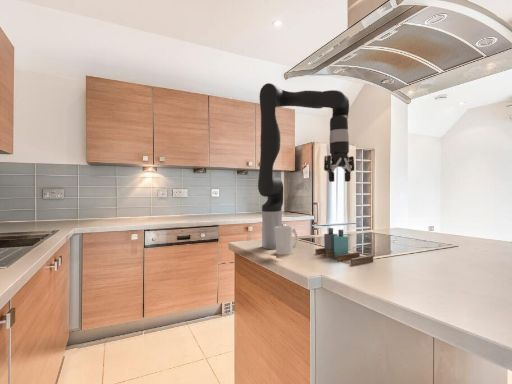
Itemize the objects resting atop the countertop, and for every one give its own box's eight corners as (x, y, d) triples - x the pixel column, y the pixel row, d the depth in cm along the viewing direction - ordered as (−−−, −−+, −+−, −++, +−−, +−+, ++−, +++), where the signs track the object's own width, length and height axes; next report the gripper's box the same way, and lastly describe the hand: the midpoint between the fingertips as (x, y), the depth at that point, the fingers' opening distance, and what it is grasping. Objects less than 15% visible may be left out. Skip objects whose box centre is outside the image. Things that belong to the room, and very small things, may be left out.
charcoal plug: (324, 253, 113) (324, 228, 113) (331, 252, 115) (331, 227, 114) (330, 255, 110) (330, 229, 110) (337, 254, 111) (337, 228, 111)
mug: (281, 258, 111) (280, 228, 111) (272, 255, 117) (272, 226, 117) (302, 255, 116) (301, 226, 116) (293, 252, 122) (292, 224, 122)
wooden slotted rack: (315, 257, 113) (315, 249, 113) (334, 253, 118) (334, 246, 118) (352, 268, 96) (352, 259, 96) (373, 264, 100) (373, 255, 100)
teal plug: (334, 256, 108) (333, 229, 108) (341, 255, 110) (340, 228, 109) (341, 258, 105) (340, 230, 105) (348, 257, 106) (347, 230, 106)
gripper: (345, 144, 122) (345, 181, 122) (319, 142, 115) (320, 182, 115) (358, 141, 115) (359, 181, 115) (332, 139, 108) (333, 181, 109)
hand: (339, 181), depth 115 cm, fingers open, 8 cm apart
